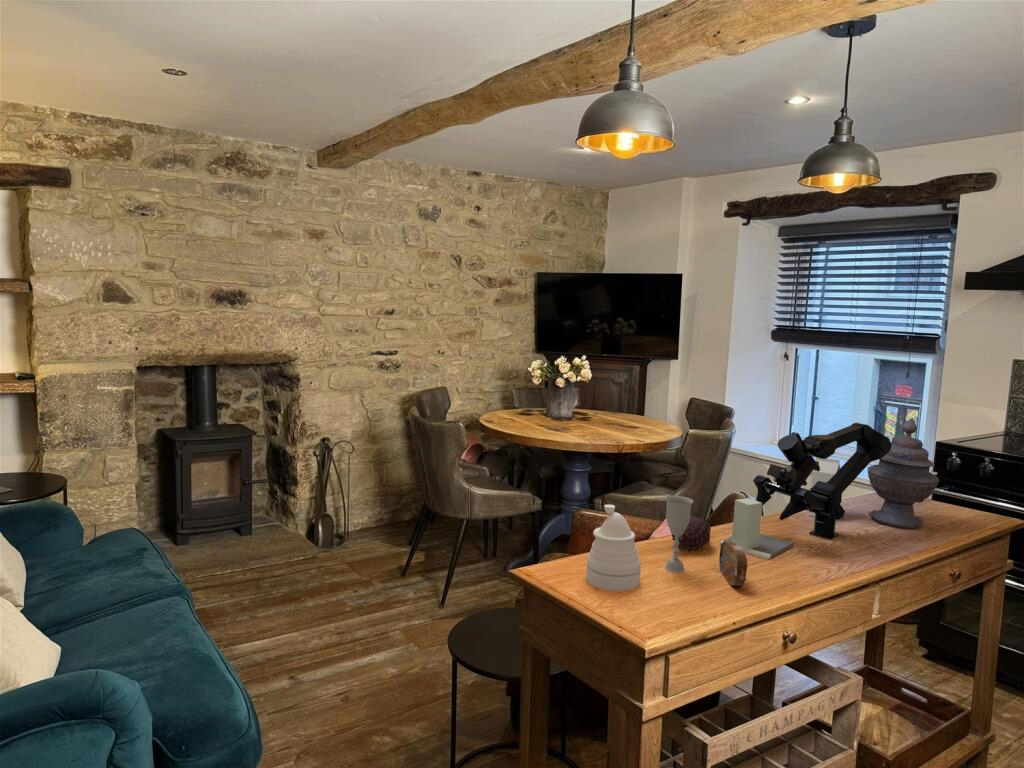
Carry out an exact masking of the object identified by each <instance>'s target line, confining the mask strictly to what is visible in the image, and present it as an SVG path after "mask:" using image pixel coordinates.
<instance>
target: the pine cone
mask: <svg viewBox="0 0 1024 768" xmlns="http://www.w3.org/2000/svg"><path fill="white" fill-rule="evenodd" d="M711 530H712V528H711V525H710V524H709V522H707V521H706V520H705V519H704V518H702V517H700V516H697V515H694V514H693V515H690V521H689V524H688V526H687V528H686V530H685V532H684V533H683V535H681V536H679V538H678V540H679V543H680V544H679V545H678V549H679V548H680V549H683V550H687V551H688V552H692V551H694V552H697V551H698V550H699V549H700V550H701V549H703V548H704V546H706V545H707V544H708V543H709V542H710V541H711ZM671 536H672V538H671V539H672V541H674V540H675V535H673V534H671Z"/></svg>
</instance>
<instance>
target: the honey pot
mask: <svg viewBox="0 0 1024 768" xmlns="http://www.w3.org/2000/svg"><path fill="white" fill-rule="evenodd" d="M603 507H604V511H605V513H606V514H608V516H607V517H606V518H605V520H604V521H603V523H602V524H601V526H599V527H596V528H595V529H594V530H593V532H592V534H593V536H594V537H595V538H594V541H593V542H592V544H591V548H590V551H589V554H588V555H587V558H586V560H587V561H586V571H585V572H586V574H585V579H586V581H587V582H588V584H590V585H591V586H593V587H594V588H597V589H600V590H604V591H609V592H610V591H611V592H612V591H613V592H626V591H631V590H634V589H637V588H638V587H639V586H640V584H641V572H642V571H641V568H642V567H641V564H642V561H641V558H640V557H639V552H638V547H637V545H636V543H635V538H636V533H635V532H634V531H632V529H631V528H630V526H629V523H628V522H627V520H626V519H625V517H624V516H623V515H622V514H621V513H619V512H617V511H615V509H616V506H615V505H614V504H604V506H603Z"/></svg>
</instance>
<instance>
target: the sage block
mask: <svg viewBox="0 0 1024 768" xmlns="http://www.w3.org/2000/svg"><path fill="white" fill-rule="evenodd" d="M762 508H763V506H762V503H761V502H758V501H756V499H752V498H750V497H747V498H746V497H745V498H741V499H739V498H738V499H735V500H734V508H733V510H734V511H733V523H732V536H731V537H732V542H734V543H736V544H737V545H738V546H739V547H741V548H743V549H745V550H746V549H751V548H757V547H759V537H760V534H761V524H762V523H761V521H762V511H763V510H762Z"/></svg>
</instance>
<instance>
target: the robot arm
mask: <svg viewBox="0 0 1024 768" xmlns="http://www.w3.org/2000/svg"><path fill="white" fill-rule="evenodd" d="M854 442H856V449H855V450H856V451H854V453H853V454H852V455H851V456H850V458H848V459H847V461H845V463H844V464H843V465H842V466H840V469H839V470H838V471H837V472H836V474H835V475H834V476H833V477H832V478H831V479H830V480H829V481H828V482H826V483H825V482H821V481H818V482H816V484H815V485H814V486H813V487H812V488H811V487H810V488H809V489H807V488H804V486H805V487H807V485H808V482H807V479H808V478H809V477H810V475H812V471H813V470H815V471H820V466H819V462H818V461H816V457H817V458H821V459H826V458H830V457H832V455H834V454H835V452H836V450H837V449H840V448H842V447H844V446H847V445H849V444H852V443H854ZM891 442H892V441H891V439H890V438H889V436H886V435H884V434H882V433H880V432H878V431H877V430H875V429H874V428H873V427H872V426H870V425H869V424H865V423H860V422H853V423H852V424H851V425H848V426H846V427H844V428H840V429H838V430H835V431H833V432H829V433H828V434H813V435H808V436H805V438H804V439H802V437H801V434H799V433H798V432H794V431H793V432H791V433H790V434H788V435H785V436H783V437H782V438H780V439H779V440H778V442H777V447H778V449H779V450H780V452H781V453H782V454H783V455H784V457H785V459H786V460H787V461H788V462H790V463H791V464H790V465H788V466H787V467H786V466H784V467H782V466H779V465H778V464H777V465H776V464H773V463H769V464H770V465H769V467H768V470H767V472H766V475H767V476H770V477H773V481H774V482H775V483H773V482H772V480H771V479H770V477H767V476H764V475H762V474H761V475H760V474H757V475H756V476H755V477H754V478H753V481H752V482H753V483H754V485H755V487H756V488H757V495H756V499H755V501H758V502H761V503H762V507H763V506H764V505H765V504H766V503H768V502H769V501H770V500H771V499H772V495H774V494H775V493H779V494H782V495H785V496H788V497H790V499H789V502H788V503H787V505H786V506H785V508H784V509H783V510H782V512H781V513H780V515H779V517H778V518H779V519H780V521H783V520H786V519H788V518H790V517H792V516H794V515H797V514H799V513H801V512H804V511H808V513H809V512H813V513H815V516H814V520H813V521H814V522H813V523H814V524H813V530H811V531H809V532H808V534H809V535H811V536H816V537H820V538H823V539H826V540H827V539H828V540H833V539H834V538H837V537H838V536H839V534H840V533H839V532H836V522H837V520H839V521H840V520H841V519H843V518H844V516H845V513H846V510H845V509H844V508H843V507H842V505H841V503H842V499H843V492H845V491H846V489H847V488H849V487H850V485H851V484H852V483H853V482H854V481H855V480H856V479H857V478H858V477H859V475H860V474H861V473H863V471H864V470H865V469H866V468H868V465H869V464H871V463H872V462H875V461H878V460H879V459H881V458H883V457H884V456H885V455H886V454H887V453H889V451H890V450H891V447H892V444H891ZM802 486H803V487H802Z"/></svg>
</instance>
